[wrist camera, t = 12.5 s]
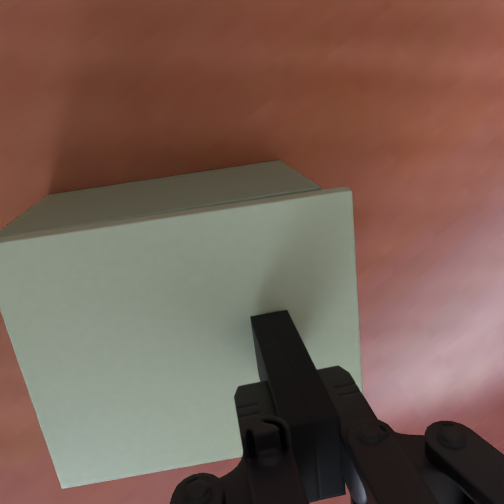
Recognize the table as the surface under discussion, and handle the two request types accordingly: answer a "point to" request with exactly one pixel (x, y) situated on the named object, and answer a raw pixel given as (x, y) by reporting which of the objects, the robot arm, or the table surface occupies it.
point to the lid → (171, 324)
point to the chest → (160, 196)
